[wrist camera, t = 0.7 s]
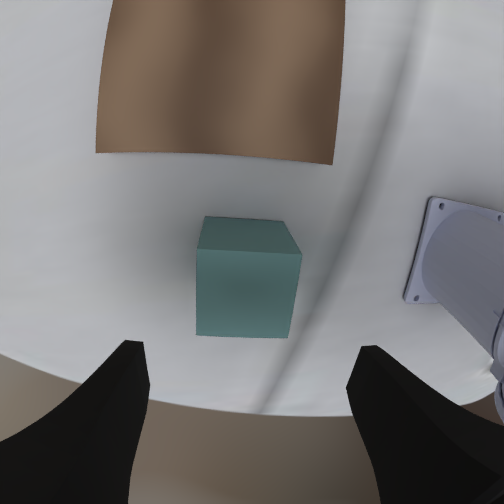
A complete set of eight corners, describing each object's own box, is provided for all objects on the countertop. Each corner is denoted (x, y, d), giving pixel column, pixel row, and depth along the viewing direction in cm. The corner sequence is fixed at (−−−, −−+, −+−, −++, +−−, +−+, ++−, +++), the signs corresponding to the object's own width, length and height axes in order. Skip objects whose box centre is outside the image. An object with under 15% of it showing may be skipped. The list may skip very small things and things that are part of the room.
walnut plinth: (334, -21, 12) (345, -34, 10) (321, 161, 17) (332, 165, 15) (134, -32, 11) (125, -46, 9) (109, 150, 15) (95, 153, 14)
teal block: (283, 221, 18) (302, 254, 13) (274, 290, 20) (287, 338, 15) (205, 216, 17) (196, 248, 13) (203, 286, 19) (196, 335, 15)
